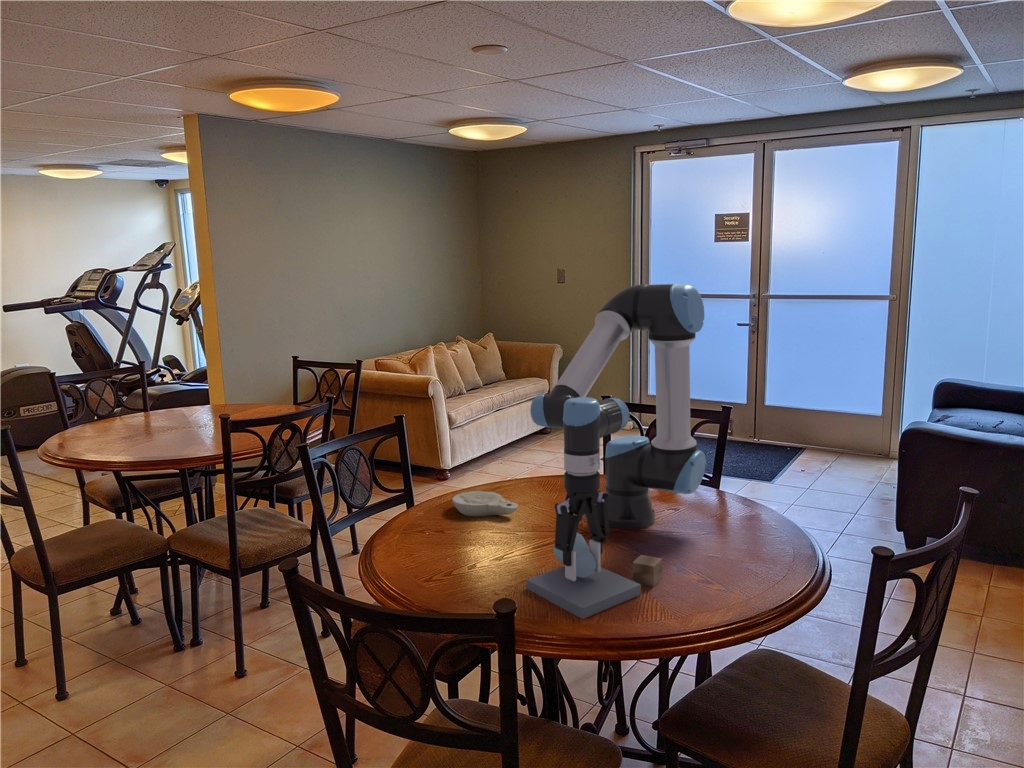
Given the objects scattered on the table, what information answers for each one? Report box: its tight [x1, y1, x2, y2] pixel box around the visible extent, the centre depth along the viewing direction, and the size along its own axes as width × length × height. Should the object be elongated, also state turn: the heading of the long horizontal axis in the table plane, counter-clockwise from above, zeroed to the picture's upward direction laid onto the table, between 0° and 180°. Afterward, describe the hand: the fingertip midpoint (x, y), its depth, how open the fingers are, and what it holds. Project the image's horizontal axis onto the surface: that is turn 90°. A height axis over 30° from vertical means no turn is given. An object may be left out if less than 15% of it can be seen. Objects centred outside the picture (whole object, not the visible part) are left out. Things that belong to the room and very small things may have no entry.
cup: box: [553, 532, 596, 578], centre depth 163 cm, size 8×8×10 cm
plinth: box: [525, 565, 642, 620], centre depth 160 cm, size 18×17×2 cm
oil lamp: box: [451, 490, 519, 517], centre depth 211 cm, size 21×14×5 cm
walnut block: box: [632, 554, 663, 588], centre depth 165 cm, size 5×5×5 cm
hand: (583, 574), depth 160 cm, fingers closed on cup, 6 cm apart
